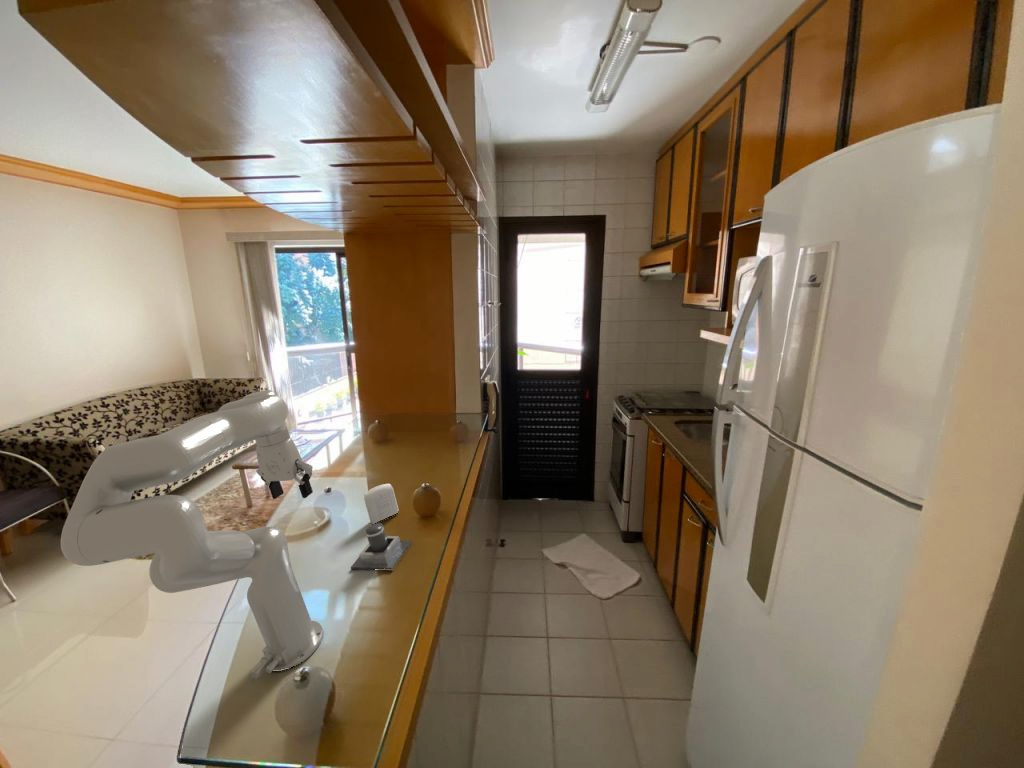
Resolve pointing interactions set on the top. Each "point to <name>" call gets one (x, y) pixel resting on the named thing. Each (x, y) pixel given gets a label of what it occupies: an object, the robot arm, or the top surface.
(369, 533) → the lens
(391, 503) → the photo printer
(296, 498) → the top surface
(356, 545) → the top surface
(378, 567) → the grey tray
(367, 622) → the top surface
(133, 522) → the robot arm
